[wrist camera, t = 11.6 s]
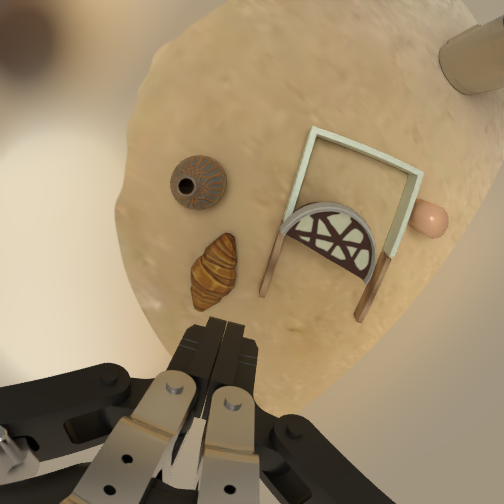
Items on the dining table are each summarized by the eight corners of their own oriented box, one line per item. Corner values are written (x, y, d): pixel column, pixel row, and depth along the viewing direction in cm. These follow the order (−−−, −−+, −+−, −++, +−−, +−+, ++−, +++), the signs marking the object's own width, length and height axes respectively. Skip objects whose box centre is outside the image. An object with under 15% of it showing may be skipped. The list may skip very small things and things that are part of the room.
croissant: (220, 314, 45) (214, 331, 40) (182, 297, 44) (172, 313, 40) (253, 241, 40) (250, 252, 36) (210, 222, 40) (201, 231, 35)
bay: (309, 128, 34) (312, 125, 31) (414, 170, 34) (424, 172, 32) (282, 216, 39) (283, 221, 36) (386, 250, 39) (394, 257, 36)
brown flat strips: (281, 220, 39) (282, 224, 36) (385, 253, 39) (391, 259, 36) (259, 288, 42) (258, 296, 40) (357, 315, 42) (361, 323, 40)
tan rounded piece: (410, 194, 36) (429, 201, 30) (431, 204, 36) (452, 212, 30) (400, 222, 37) (418, 232, 31) (422, 231, 37) (441, 242, 32)
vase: (177, 197, 39) (152, 208, 31) (188, 151, 37) (164, 149, 28) (222, 210, 39) (208, 224, 31) (235, 162, 37) (223, 163, 28)
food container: (372, 222, 38) (400, 243, 28) (350, 257, 40) (369, 287, 30) (301, 176, 37) (309, 182, 27) (278, 214, 39) (278, 233, 29)
